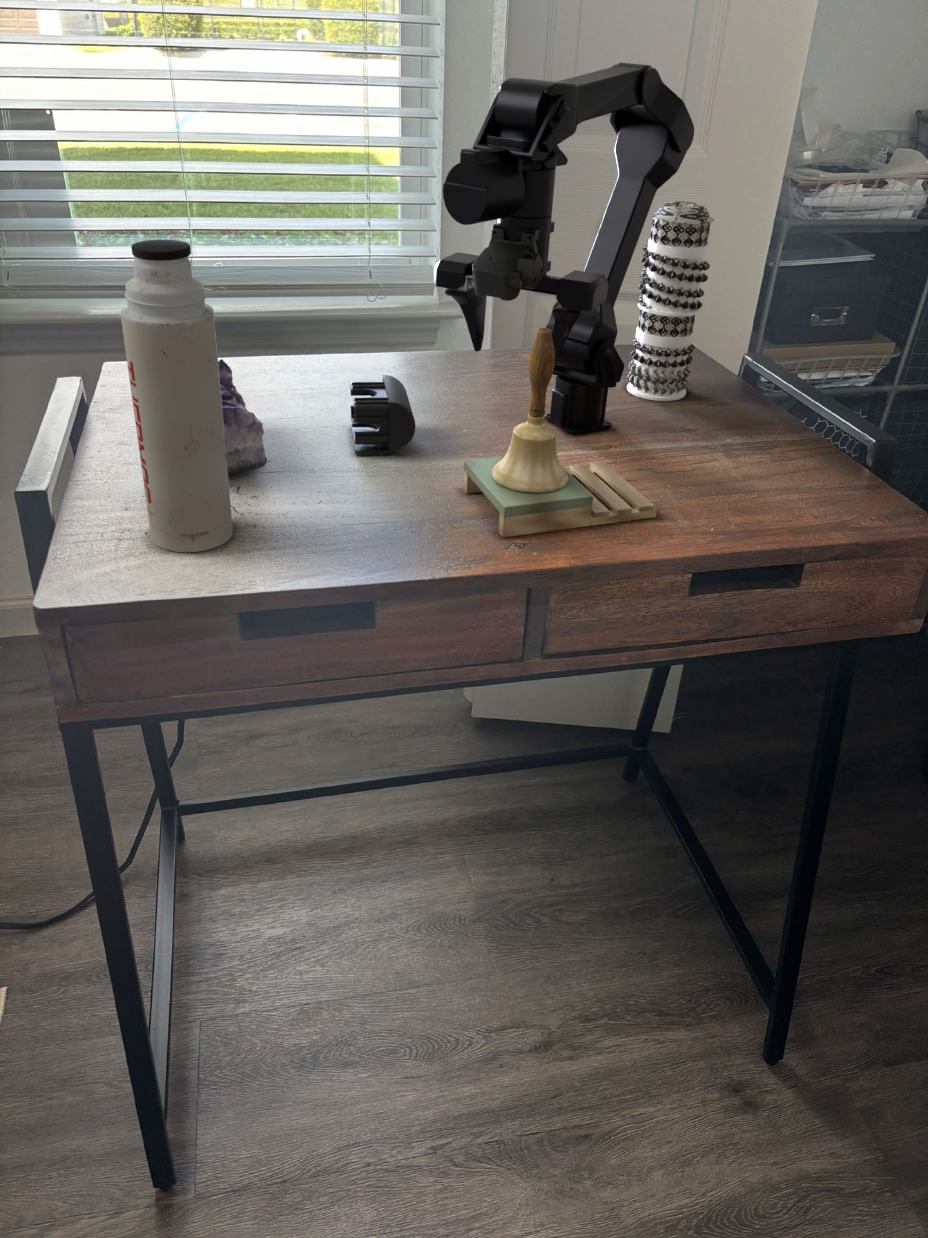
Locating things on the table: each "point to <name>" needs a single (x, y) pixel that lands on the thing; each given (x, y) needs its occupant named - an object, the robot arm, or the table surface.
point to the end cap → (381, 417)
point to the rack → (558, 499)
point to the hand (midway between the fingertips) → (514, 357)
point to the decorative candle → (669, 301)
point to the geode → (239, 427)
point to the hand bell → (534, 432)
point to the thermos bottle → (176, 399)
